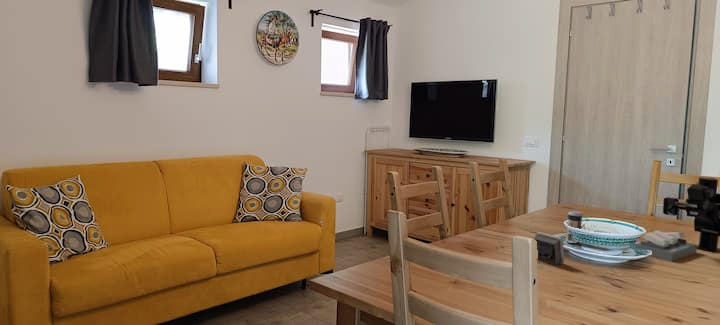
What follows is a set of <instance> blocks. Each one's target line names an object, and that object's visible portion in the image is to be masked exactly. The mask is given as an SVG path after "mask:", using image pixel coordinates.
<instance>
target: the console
mask: <svg viewBox="0 0 720 325" xmlns="http://www.w3.org/2000/svg"><path fill="white" fill-rule="evenodd" d="M697 246H698V244H693V243H690V242H687V239H684V238H680V239H678V241H677V243H676V244H674V245H672V244H669V246H667V247H664V246H660V245H656V244H654V243H652V242H650V241H648V240H645V241H643V240H640V242H638V243H635V246H634V248H635V247H636V248H641V249H646V250H651V251H652V255H651V256H650V257H652V258H655V259H660V260H664V261H668V262H675V261H676V260H680V259H682V258H683V259H684V258H686V257H689V256H691V255H695V254H696V253H697V250H698V248H697Z"/></svg>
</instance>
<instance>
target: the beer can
mask: <svg viewBox="0 0 720 325" xmlns="http://www.w3.org/2000/svg"><path fill="white" fill-rule="evenodd" d="M582 220H583V214H582V212H581V211H579V210H570V211H569V212H568V213H567V225H568V226H571V227H574V228H579V229H581V230H582V222H583V221H582ZM567 225H566V226H567ZM566 240H568V241H573V242H575V240H574V239H573V237H572V236H571V234H570V232H569V230H568V228H567V227H566V236H565V241H566Z"/></svg>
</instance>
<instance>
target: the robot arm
mask: <svg viewBox="0 0 720 325" xmlns="http://www.w3.org/2000/svg"><path fill="white" fill-rule="evenodd" d="M718 184H719V178H714V177H703V176H700V177H698V184H695V183H694V184H691V185H690V186H689V187H688V188H687V189H686V191H687V198H686V199H685V203H684V202H680V201H679V198H677V197H669V196H667V197H664V198H663V204H662V205H663V206H662V213H663V215H666V216H673V217H676V216H677V215H678V214H679V210H683V211H684V210H685V213H686V216H687V217H692V218H694V220H693V227H694V228H693V229H694V232H699V238H698V244H697V250H699V249H700V250H703V251H707V252H712V253H716V252H719V251H720V247H718V245H719V237H720V193H718Z"/></svg>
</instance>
